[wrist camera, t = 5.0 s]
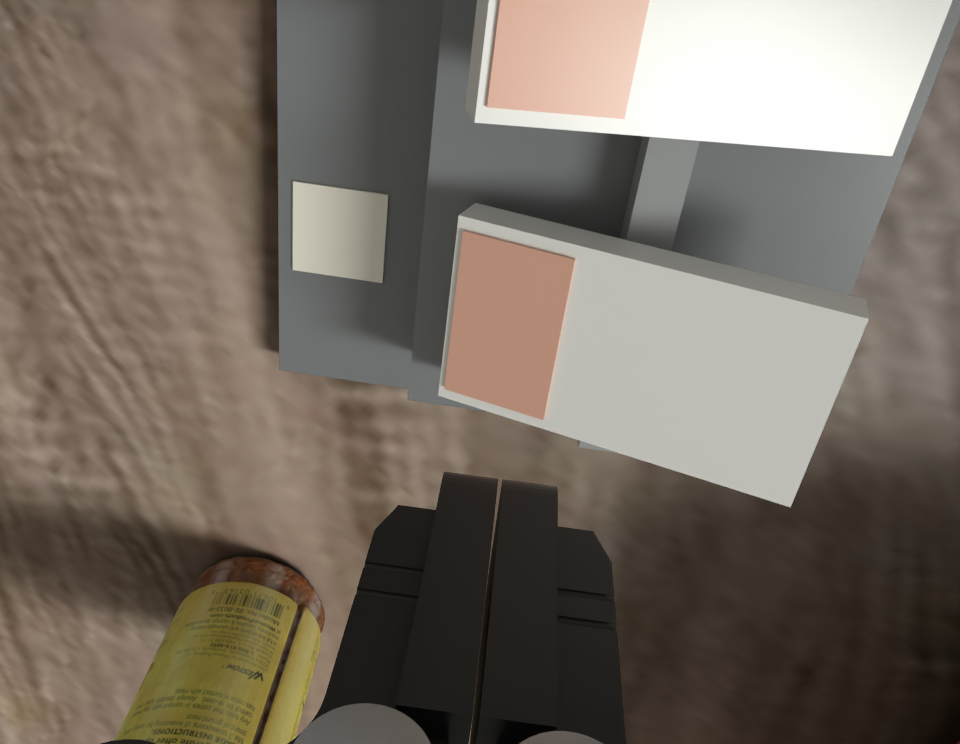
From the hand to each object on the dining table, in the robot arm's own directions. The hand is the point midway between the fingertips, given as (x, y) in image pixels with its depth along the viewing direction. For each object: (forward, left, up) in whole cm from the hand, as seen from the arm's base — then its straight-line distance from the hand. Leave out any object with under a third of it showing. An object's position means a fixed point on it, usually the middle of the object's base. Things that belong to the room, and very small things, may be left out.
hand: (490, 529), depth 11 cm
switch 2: (-3, +3, -11) cm, 11 cm away
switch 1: (-3, -6, -11) cm, 13 cm away
